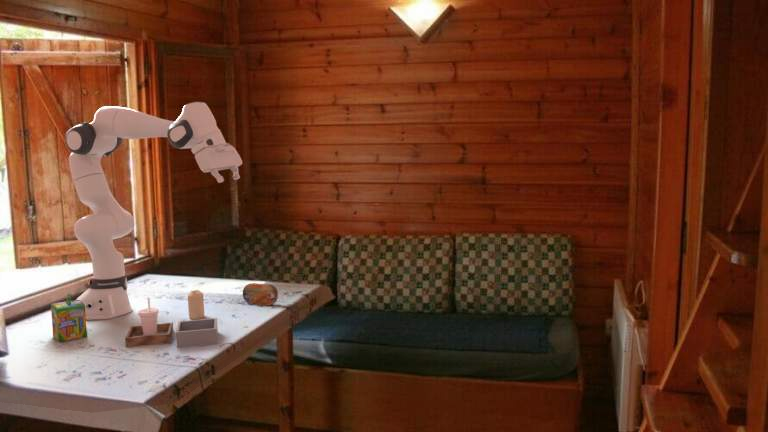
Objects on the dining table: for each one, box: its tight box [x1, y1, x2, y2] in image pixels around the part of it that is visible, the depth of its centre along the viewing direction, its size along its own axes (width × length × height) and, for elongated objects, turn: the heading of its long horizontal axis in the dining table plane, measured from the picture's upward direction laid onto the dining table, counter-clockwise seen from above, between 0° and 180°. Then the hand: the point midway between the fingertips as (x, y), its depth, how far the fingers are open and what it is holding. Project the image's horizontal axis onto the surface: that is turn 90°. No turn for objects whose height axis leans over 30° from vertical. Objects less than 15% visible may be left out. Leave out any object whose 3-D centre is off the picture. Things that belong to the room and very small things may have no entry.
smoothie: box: [137, 297, 160, 336], centre depth 218 cm, size 6×6×14 cm
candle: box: [187, 289, 205, 320], centre depth 243 cm, size 6×6×10 cm
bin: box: [175, 317, 219, 349], centre depth 216 cm, size 13×13×5 cm
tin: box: [242, 282, 279, 307], centre depth 259 cm, size 15×3×8 cm, turn 68°
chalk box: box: [50, 292, 88, 343], centre depth 222 cm, size 9×9×15 cm
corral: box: [124, 322, 174, 348], centre depth 219 cm, size 14×14×3 cm
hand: (229, 180), depth 228 cm, fingers open, 8 cm apart
